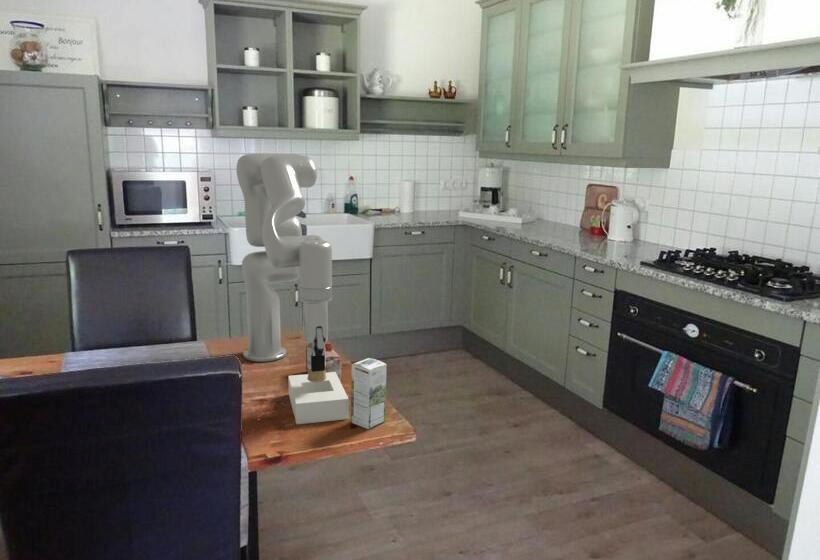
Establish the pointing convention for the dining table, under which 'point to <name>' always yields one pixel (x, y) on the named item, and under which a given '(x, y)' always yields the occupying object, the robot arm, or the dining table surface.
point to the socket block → (318, 399)
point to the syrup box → (368, 393)
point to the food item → (331, 361)
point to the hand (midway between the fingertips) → (316, 366)
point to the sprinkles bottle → (312, 376)
